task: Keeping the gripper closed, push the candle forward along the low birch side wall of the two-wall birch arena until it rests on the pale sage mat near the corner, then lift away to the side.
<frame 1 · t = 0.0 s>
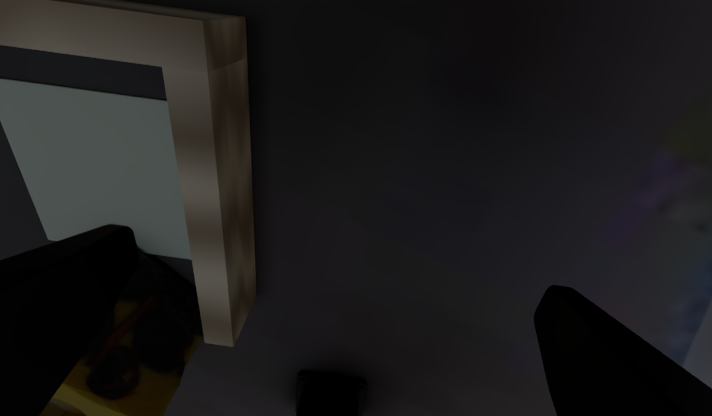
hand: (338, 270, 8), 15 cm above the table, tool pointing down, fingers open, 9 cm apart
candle: (140, 295, 30), on the table, touching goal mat
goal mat: (108, 179, 24), on the table
arena: (108, 179, 24), on the table
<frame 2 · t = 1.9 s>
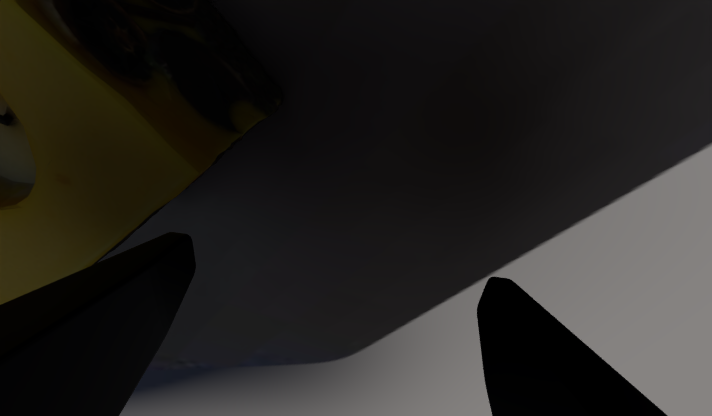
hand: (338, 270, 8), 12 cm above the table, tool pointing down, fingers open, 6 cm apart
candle: (154, 76, 18), on the table, touching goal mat
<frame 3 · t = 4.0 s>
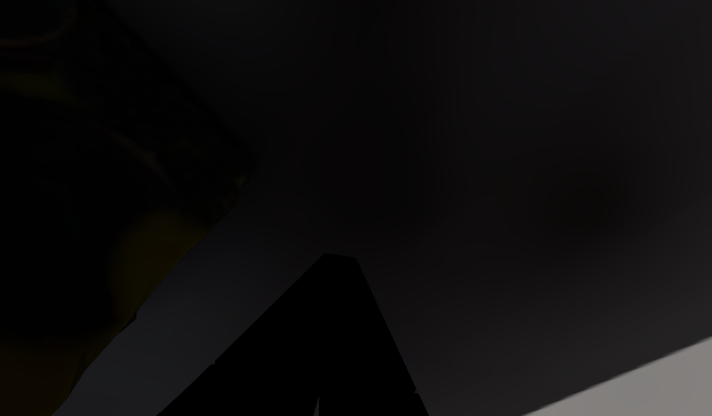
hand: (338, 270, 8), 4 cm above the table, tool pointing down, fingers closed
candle: (46, 137, 11), on the table, touching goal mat, gripper
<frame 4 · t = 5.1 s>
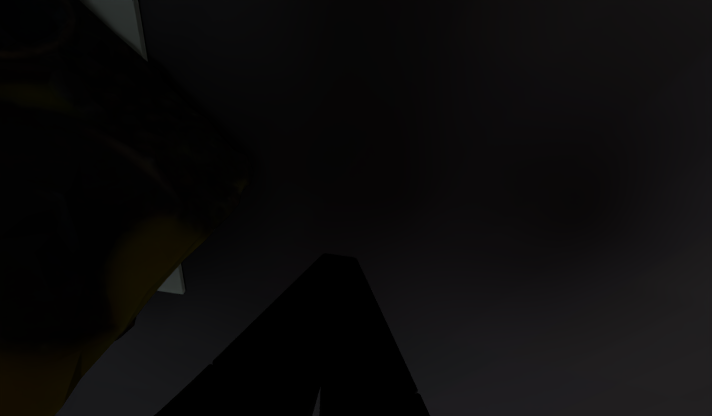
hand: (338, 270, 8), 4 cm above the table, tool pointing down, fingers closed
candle: (52, 148, 11), resting on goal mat, touching gripper
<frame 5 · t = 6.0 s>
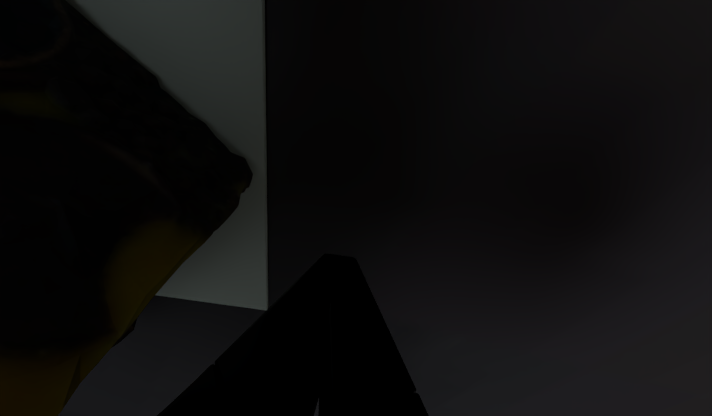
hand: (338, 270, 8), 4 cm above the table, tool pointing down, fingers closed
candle: (54, 156, 11), resting on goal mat, touching gripper
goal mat: (78, 145, 11), on the table
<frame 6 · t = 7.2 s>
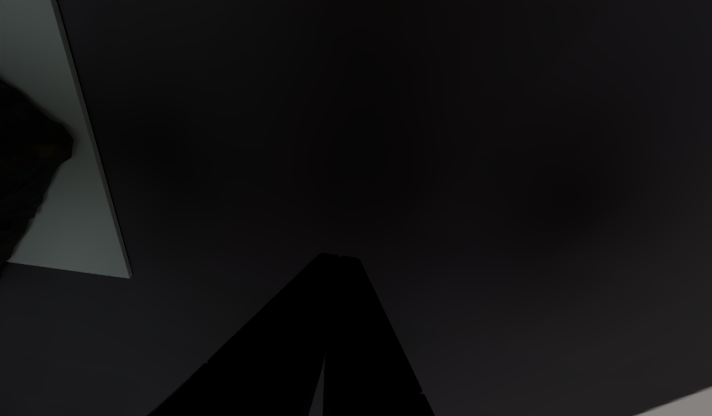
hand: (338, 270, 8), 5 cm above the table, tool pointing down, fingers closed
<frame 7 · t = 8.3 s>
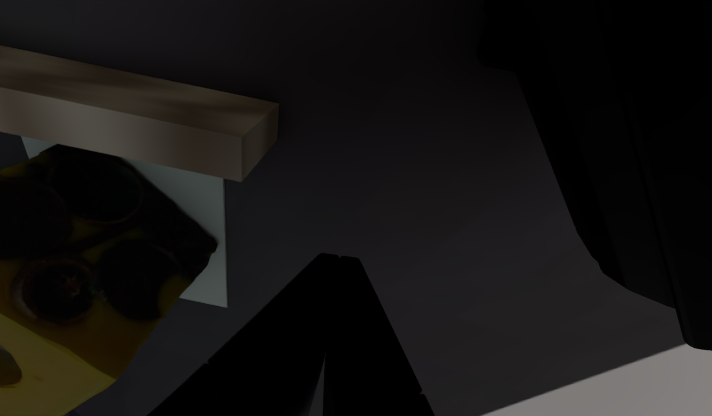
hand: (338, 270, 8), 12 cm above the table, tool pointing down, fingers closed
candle: (123, 227, 24), resting on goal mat
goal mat: (137, 224, 23), on the table
arena: (137, 224, 23), on the table
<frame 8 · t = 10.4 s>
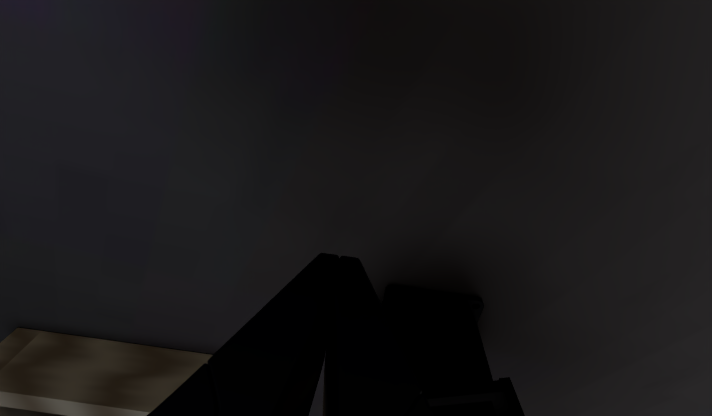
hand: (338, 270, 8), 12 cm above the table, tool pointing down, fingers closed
arena: (169, 414, 34), on the table
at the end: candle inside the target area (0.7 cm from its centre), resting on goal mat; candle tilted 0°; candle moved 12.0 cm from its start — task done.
